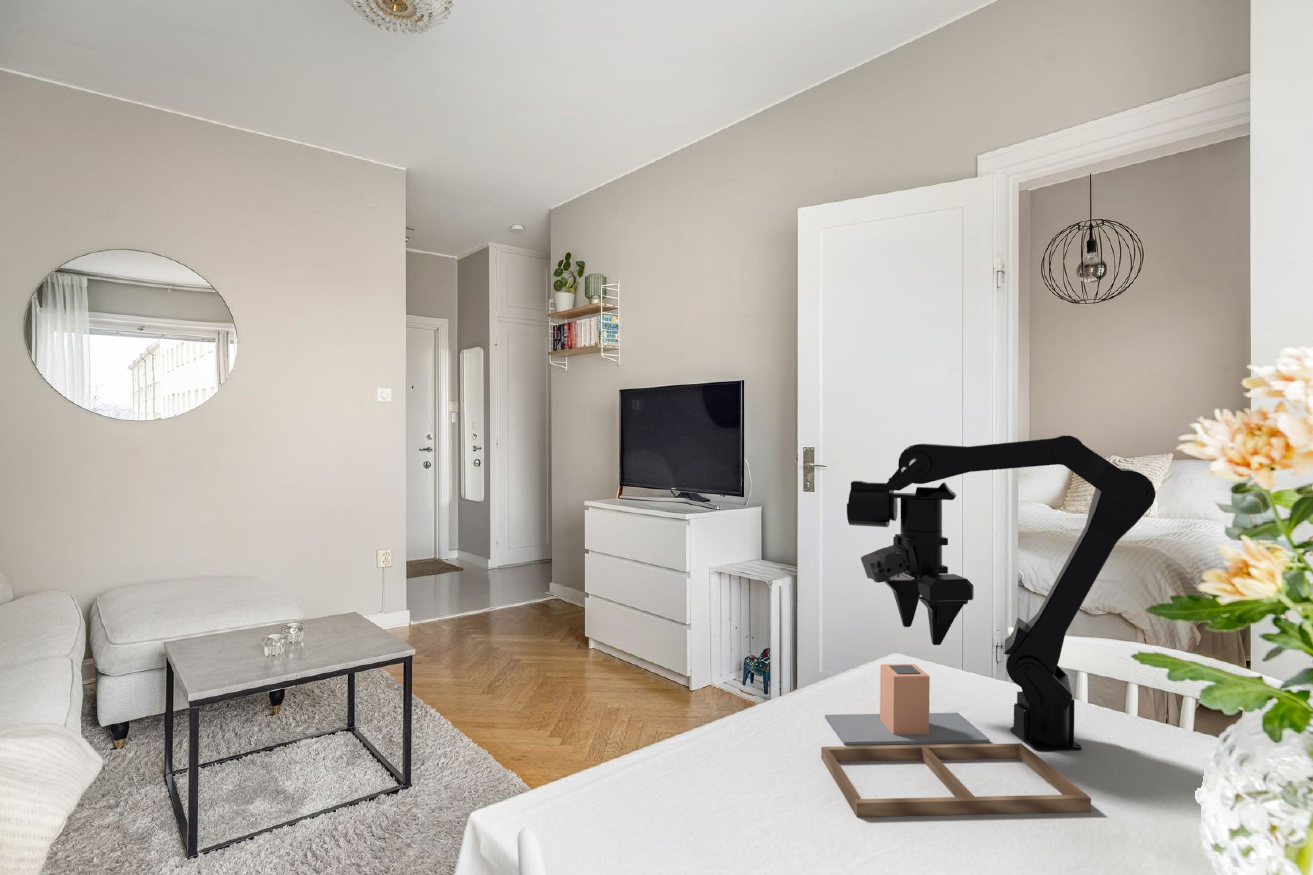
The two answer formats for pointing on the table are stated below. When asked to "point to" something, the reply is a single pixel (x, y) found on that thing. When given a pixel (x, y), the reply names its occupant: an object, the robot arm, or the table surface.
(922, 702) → the peach block
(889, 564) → the robot arm
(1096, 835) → the table surface
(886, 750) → the organizer
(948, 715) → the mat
